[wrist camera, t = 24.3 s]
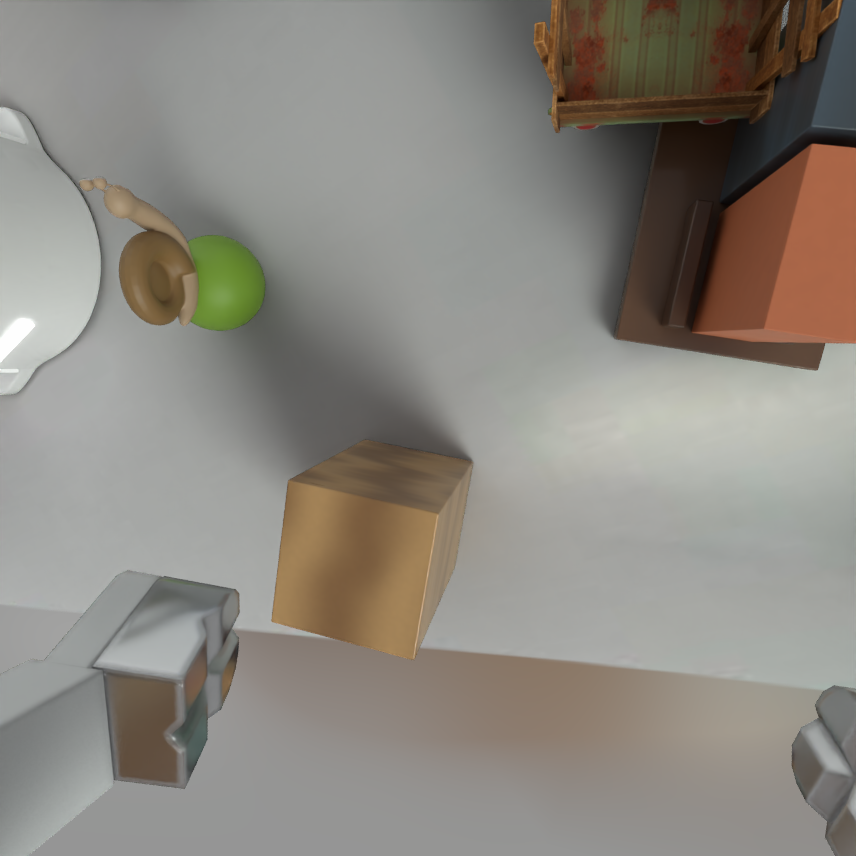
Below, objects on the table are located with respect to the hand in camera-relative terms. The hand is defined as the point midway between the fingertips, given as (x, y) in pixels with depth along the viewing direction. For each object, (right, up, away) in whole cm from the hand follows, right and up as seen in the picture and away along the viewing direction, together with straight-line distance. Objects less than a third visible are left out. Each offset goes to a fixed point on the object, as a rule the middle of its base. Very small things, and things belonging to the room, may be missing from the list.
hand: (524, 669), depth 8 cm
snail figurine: (-13, +13, +29) cm, 34 cm away
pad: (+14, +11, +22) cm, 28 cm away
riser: (-2, -1, +29) cm, 29 cm away
